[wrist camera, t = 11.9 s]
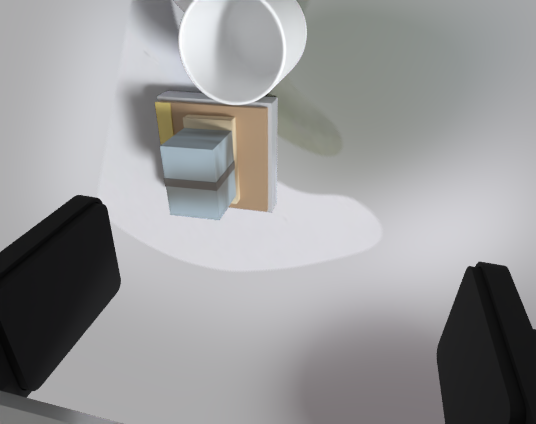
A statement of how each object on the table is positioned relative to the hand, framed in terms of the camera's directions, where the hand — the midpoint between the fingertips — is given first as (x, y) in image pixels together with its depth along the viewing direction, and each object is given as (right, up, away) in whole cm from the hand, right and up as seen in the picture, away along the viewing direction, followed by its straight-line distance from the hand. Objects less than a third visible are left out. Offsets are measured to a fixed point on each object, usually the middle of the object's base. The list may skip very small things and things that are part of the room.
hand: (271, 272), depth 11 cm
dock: (-5, +9, +35) cm, 36 cm away
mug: (-2, +20, +28) cm, 34 cm away
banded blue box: (-6, +7, +32) cm, 34 cm away
